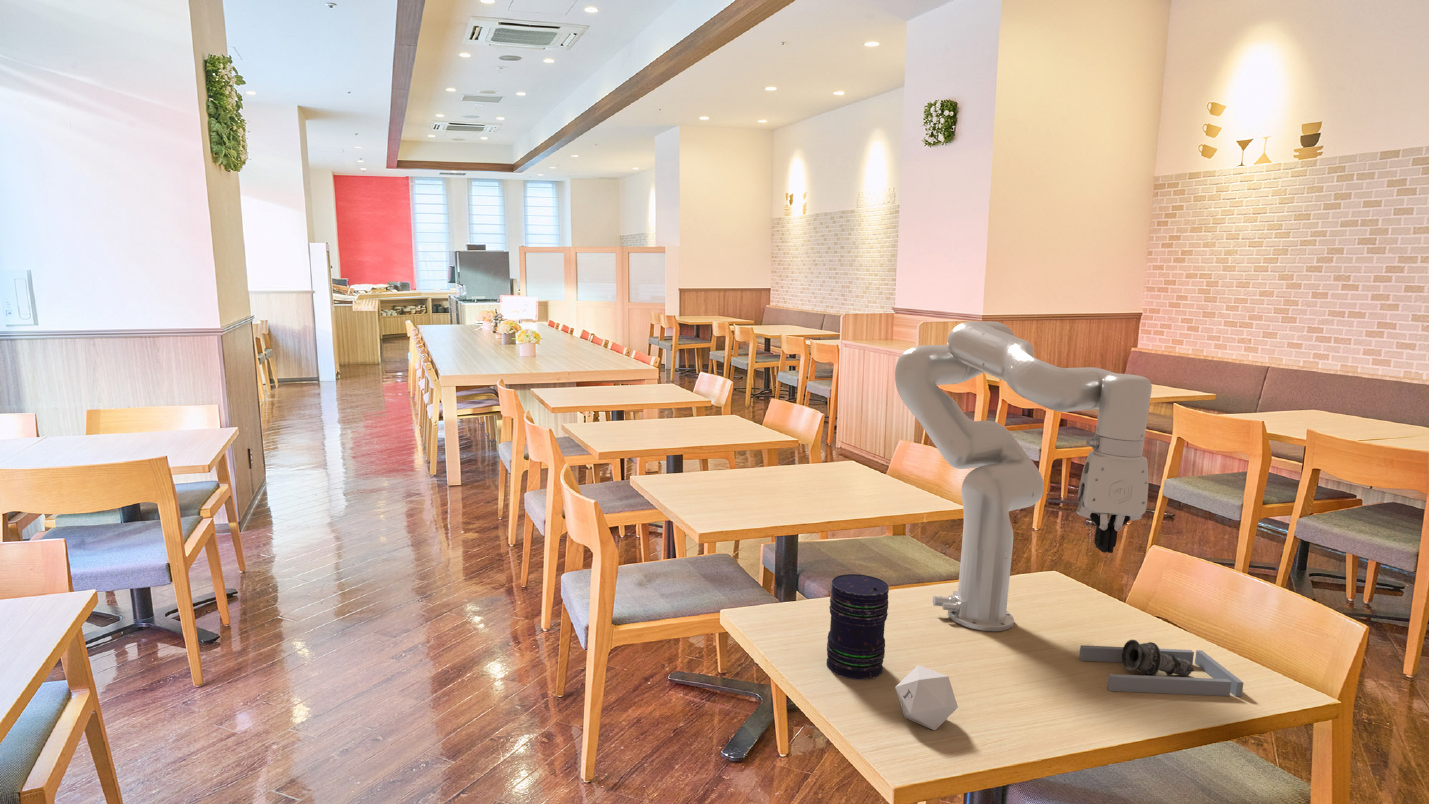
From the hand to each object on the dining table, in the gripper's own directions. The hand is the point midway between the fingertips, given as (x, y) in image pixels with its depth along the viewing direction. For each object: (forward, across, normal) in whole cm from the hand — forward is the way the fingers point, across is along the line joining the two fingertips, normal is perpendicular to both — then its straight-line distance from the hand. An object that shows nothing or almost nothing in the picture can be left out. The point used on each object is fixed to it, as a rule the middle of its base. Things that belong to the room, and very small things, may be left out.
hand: (1104, 549), depth 142 cm
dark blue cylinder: (+22, -42, -5) cm, 48 cm away
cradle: (+22, +10, -2) cm, 24 cm away
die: (+22, -34, -22) cm, 46 cm away
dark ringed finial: (+18, +6, -2) cm, 19 cm away
